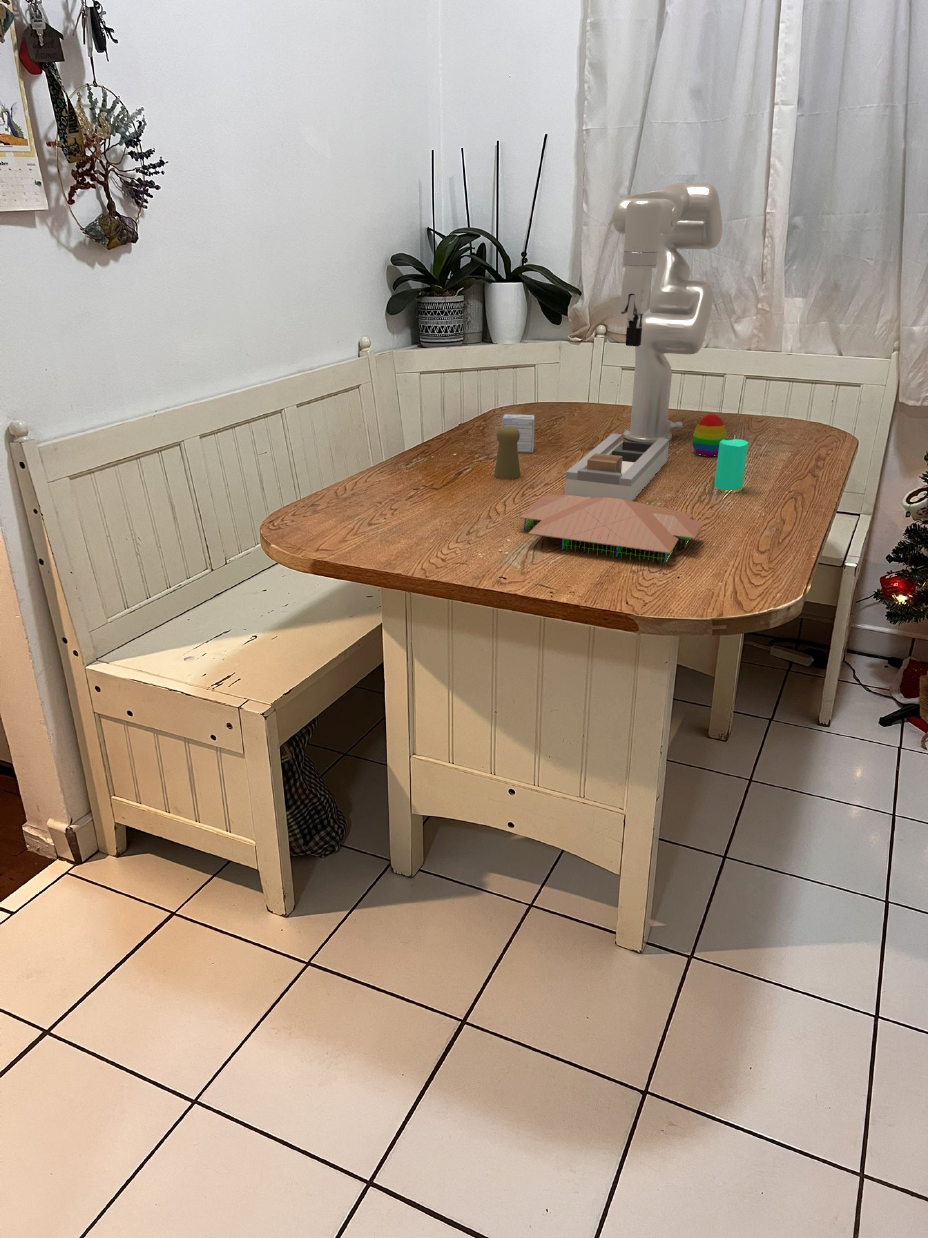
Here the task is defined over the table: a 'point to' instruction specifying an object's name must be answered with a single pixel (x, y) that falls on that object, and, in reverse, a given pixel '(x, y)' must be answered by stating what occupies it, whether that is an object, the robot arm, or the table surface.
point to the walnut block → (605, 463)
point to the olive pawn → (507, 454)
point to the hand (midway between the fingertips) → (633, 345)
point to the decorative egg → (709, 435)
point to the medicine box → (522, 430)
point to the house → (611, 523)
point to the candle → (731, 464)
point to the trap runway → (634, 475)
